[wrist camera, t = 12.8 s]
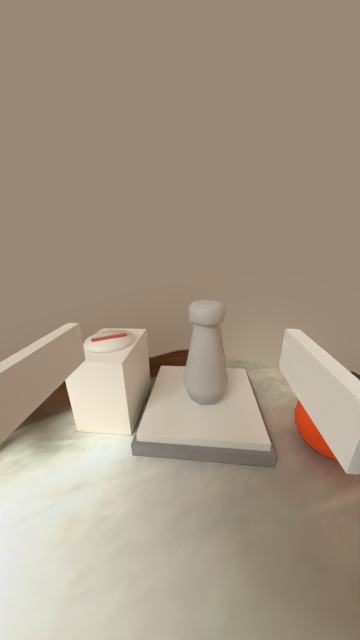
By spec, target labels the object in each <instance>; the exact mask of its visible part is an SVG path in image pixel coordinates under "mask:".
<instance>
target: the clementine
mask: <svg viewBox="0 0 360 640" xmlns="http://www.w3.org/2000/svg"><path fill="white" fill-rule="evenodd" d="M295 422H296V425H297V428H298V430H299V433H300V434H301V436H302V437H303V438H304V440H305V441H306V442H307V443H308V444H309V445H310V446H311V447H312V448H313V449H314V450H316V451H317V452H319V453H320V454H322V455H324V456H326V457H329V458H332V459H335V460H337V458H336V457H335V455H334V454H333V452H332V451H331V449H330V447H329V446H328V444H327V443H326V441H325V440H324V438H323V437H322V435H321V433H320V432H319V430H318V429H317V427H316V426H315V424H314V423H313V421H312V419H311V418H310V416H309V415H308V413H307V412H306V410H305V409H304V407H303V405H302V404H301V402H300V401H298V403H297V405H296V408H295Z"/></svg>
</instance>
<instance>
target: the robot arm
mask: <svg viewBox="0 0 360 640" xmlns="http://www.w3.org/2000/svg"><path fill="white" fill-rule="evenodd" d="M85 360H86V359H85V354H84V348H83V343H82V338H81V332H80V327H79V323H67V324H65V325H64V326H62V327H60V328H58V329H57V330H55V331H53V332H51V333H50V334H48V335H46V336H45V337H43V338H41V339H39V340H38V341H36V342H34V343H32V344H31V345H29V346H27V347H26V348H24V349H22V350H20V351H19V352H17V353H15V354H13V355H12V356H10V357H8V358H7V359H5V360H3V361H1V362H0V444H1V443H2V442H3V441H4V440H5V439H6V438H7V437H8V436H9V435H10V434H11V433H12V432H13V431H14V430H15V429H16V428H17V427H18V426H19V425H20V424H21V423H22V422H23V421H24V420H25V419H26V418H27V417H28V416H29V415H30V414H31V413H32V412H33V411H34V410H35V409H36V408H37V407H38V406H39V405H40V404H41V403H42V402H44V401H45V400H46V399H47V398H48V397H49V396H50V395H51V394H52V393H53V392H54V391H55V390H56V389H57V388H58V387H59V386H60V385H61V384H62V383H63V382H64V381H65V380H66V379H67V378H68V377H69V376H70V375H71V374H72V373H73V372H74V371H75V370H76V369H77V368H78V367H79V366H80V365H81V364H82V363H83V362H84V361H85ZM279 370H280V371H281V373H282V374H283V376H284V377H285V379H286V380H287V382H288V384H289V385H290V387H291V388H292V390H293V391H294V393H295V395H296V396H297V398H298V399H299V401H300V402H301V404H302V405H303V407H304V409H305V410H306V412H307V413H308V415H309V416H310V418H311V419H312V421H313V423H314V424H315V426H316V427H317V429H318V430H319V432H320V433H321V435H322V437H323V438H324V440H325V441H326V443H327V444H328V446H329V447H330V449H331V451H332V452H333V454H334V455H335V457H336V458H337V460H338V461H339V463H340V465H341V466H342V468H343V469H344V471H345V472H346V474H357V475H360V375H358V374H356V373H354V372H350V371H348V370H347V369H345V368H344V367H343V366H342V365H341V364H340V363H338V362H337V361H336V360H335V359H334V358H333V357H331V356H330V355H329V354H328V353H327V352H325V351H324V350H323V349H322V348H321V347H319V346H318V345H317V344H316V343H315V342H313V341H312V340H311V339H310V338H309V337H308V336H306V335H305V334H304V333H303V332H301V331H300V330H299V329H285V335H284V340H283V346H282V352H281V357H280V363H279Z"/></svg>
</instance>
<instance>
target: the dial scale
mask: <svg viewBox="0 0 360 640" xmlns="http://www.w3.org/2000/svg"><path fill="white" fill-rule="evenodd" d="M83 348H84V354H85V359H86V360H85V361H84V362H83V363H82V364H81V365H80V366H79V367H78V368H77V369H76V370H75V371H74V372H73V373H72V374H71V375H70V376H69V377H68V378H67V379H66V380H65V382H66V386H67V390H68V394H69V398H70V403H71V407H72V411H73V415H74V419H75V424H76V428H77V431H81V432H94V433H108V434H121V435H132V432H133V429H134V427H135V424H136V422H137V419H138V417H139V414H140V411H141V409H142V406H143V404H144V401H145V398H146V396H147V393H148V391H149V388H150V386H151V381H150V369H149V356H148V345H147V332H146V329H114V328H113V329H112V328H110V329H109V328H102V329H101V330H100V331H98V332H97V333H96V334H94V335H92V336H90V337H88V338H87V339H86V340H85V342H84V343H83ZM185 368H186V366H161V367H160V369H159V371H158V374H157V376H156V379H155V382H154V384H153V387H152V390H151V393H150V395H149V398H148V401H147V403H146V406H145V409H144V412H143V414H142V417H141V420H140V422H139V425H138V428H137V431H136V433H135V436H134V439H133V441H132V444H131V447H132V454H133V455H137V456H149V457H161V458H172V459H184V460H196V461H208V462H220V463H231V464H243V465H255V466H267V467H275V463H276V457H277V456H276V453H275V450H274V448H273V445H272V442H271V439H270V436H269V433H268V431H267V428H266V425H265V422H264V419H263V416H262V414H261V411H260V408H259V405H258V402H257V399H256V397H255V394H254V391H253V388H252V385H251V383H250V380H249V377H248V374H247V372H246V371H245V369H242V368H226V369H227V375H228V384H227V388H226V391H225V392H224V393H223V394H222V396H221V397H220V398H219V399H218V401H217V402H216V404H211V405H200V404H198V403H197V402H195V401H193V400H192V399H191V398H190V396H189V394H188V392H187V390H186V388H185V384H184V374H185Z"/></svg>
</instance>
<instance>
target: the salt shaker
mask: <svg viewBox="0 0 360 640" xmlns="http://www.w3.org/2000/svg"><path fill="white" fill-rule="evenodd" d="M188 317H189V320H190V322H192V323H194V327H193V333H192V337H191V343H190V348H189V353H188V358H187V363H186V368H185V374H184V384H185V388H186V390H187V392H188V394H189V396H190V398H191V399H192V400H193V401H195V402H197V403H198V404H200V405H211V404H216V402H217V401H218V399H219V398H220V397H221V396H222V394H223V393H224V392H225V391H226V388H227V384H228V375H227V369H226V362H225V356H224V349H223V343H222V336H221V330H220V323H222V322H223V320H224V318H225V307H224V305H223V304H221V303H220V302H218V301H214V300H199V301H195V302H193V303H192V304H191V305H190V306H189V309H188Z"/></svg>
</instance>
